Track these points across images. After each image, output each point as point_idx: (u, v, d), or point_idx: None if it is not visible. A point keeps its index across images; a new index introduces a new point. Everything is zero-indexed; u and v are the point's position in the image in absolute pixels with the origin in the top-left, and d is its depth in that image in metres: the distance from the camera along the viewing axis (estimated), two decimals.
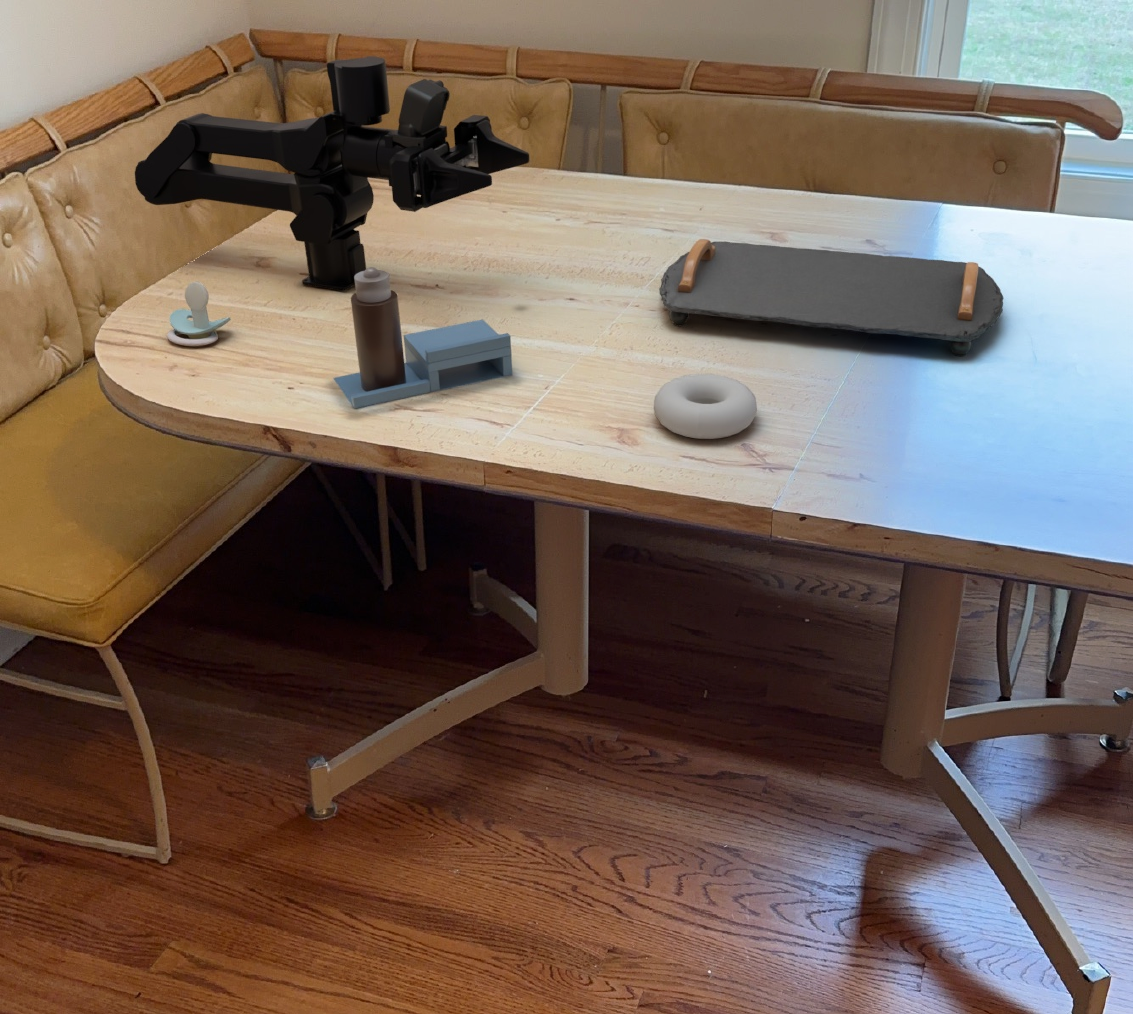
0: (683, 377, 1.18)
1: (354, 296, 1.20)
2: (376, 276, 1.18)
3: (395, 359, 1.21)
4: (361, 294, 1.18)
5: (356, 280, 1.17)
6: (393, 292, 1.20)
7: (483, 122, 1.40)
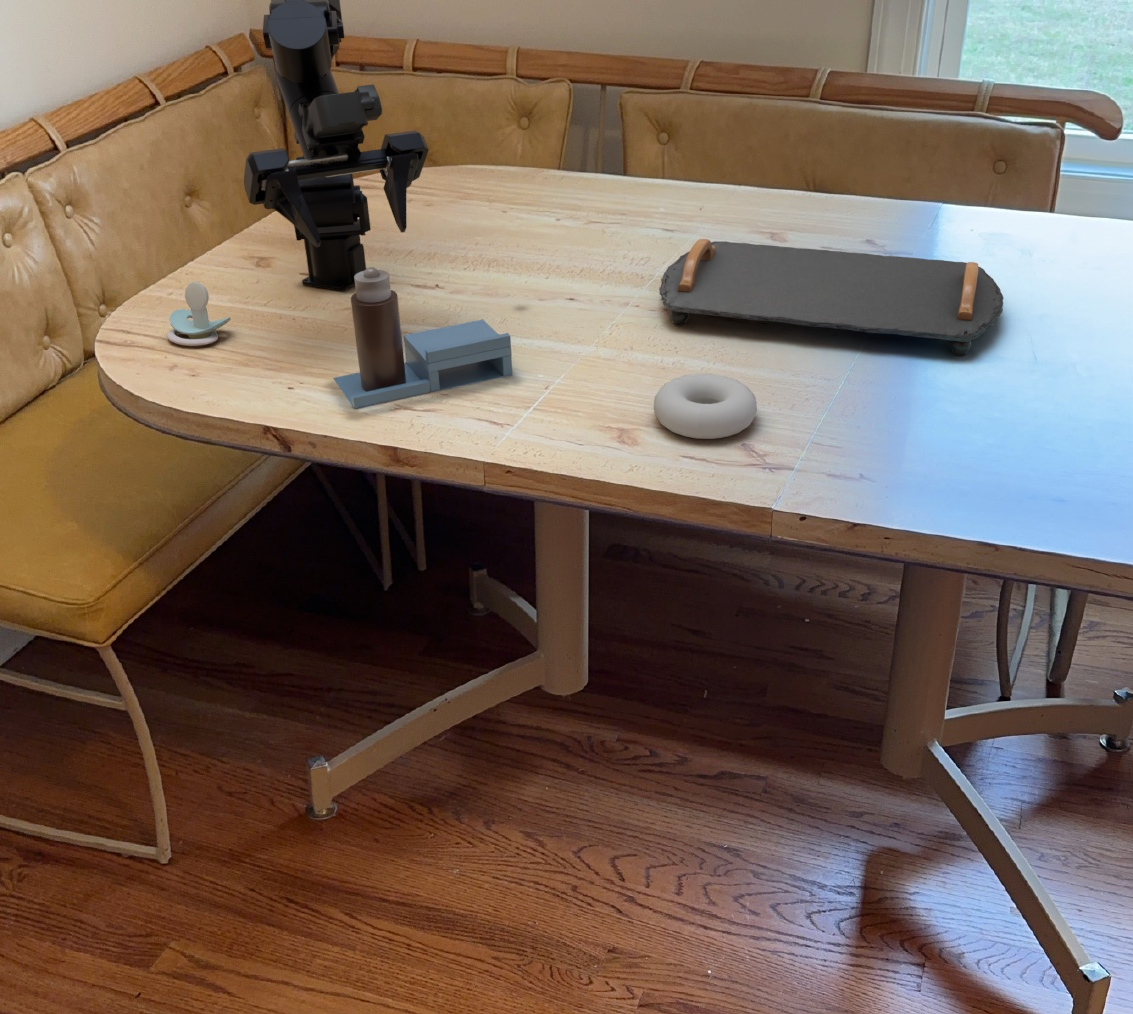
0: (683, 377, 1.18)
1: (354, 296, 1.20)
2: (376, 276, 1.18)
3: (395, 359, 1.21)
4: (361, 294, 1.18)
5: (356, 280, 1.17)
6: (393, 292, 1.20)
7: (406, 156, 1.25)
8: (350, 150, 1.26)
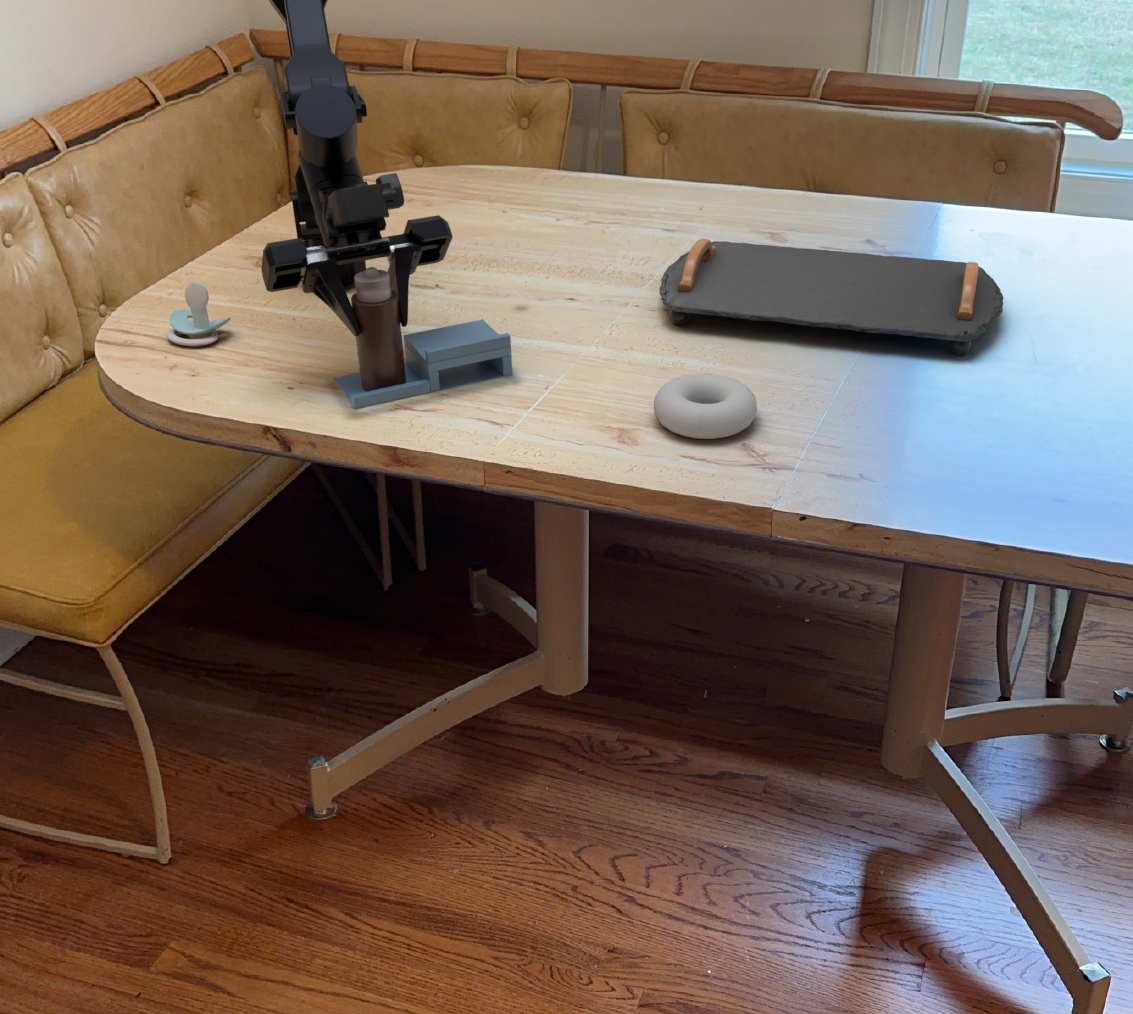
0: (683, 377, 1.18)
1: (354, 296, 1.20)
2: (376, 276, 1.18)
3: (395, 359, 1.21)
4: (361, 294, 1.18)
5: (356, 280, 1.17)
6: (393, 292, 1.20)
7: (409, 247, 1.20)
8: (372, 235, 1.22)
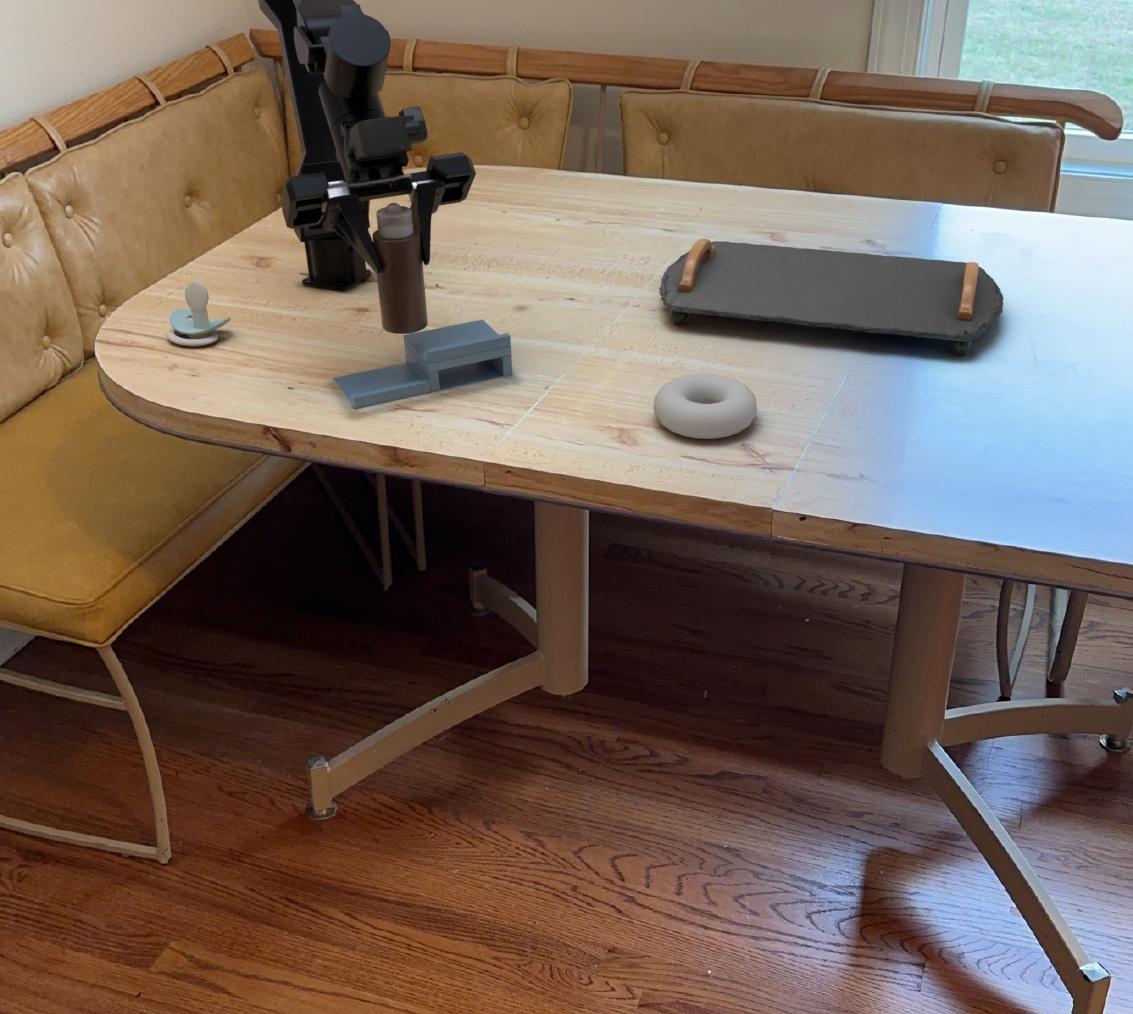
0: (683, 377, 1.18)
1: (376, 233, 1.17)
2: (398, 212, 1.16)
3: (417, 298, 1.19)
4: (383, 230, 1.16)
5: (378, 215, 1.15)
6: (415, 229, 1.18)
7: (432, 184, 1.18)
8: (393, 172, 1.20)
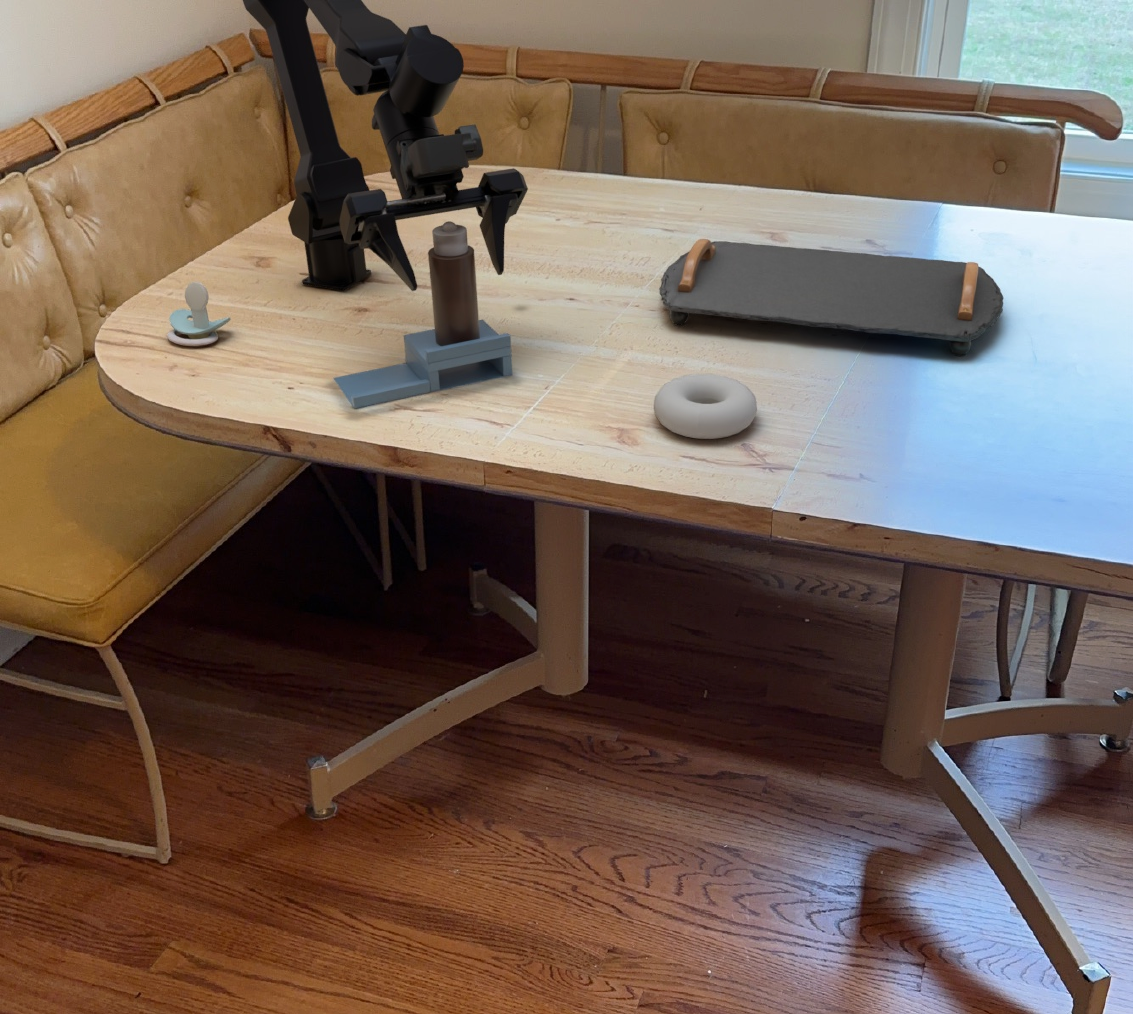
0: (683, 377, 1.18)
1: (431, 250, 1.21)
2: (454, 230, 1.19)
3: (470, 313, 1.23)
4: (439, 248, 1.19)
5: (435, 234, 1.19)
6: (469, 247, 1.22)
7: (506, 196, 1.22)
8: (448, 188, 1.23)
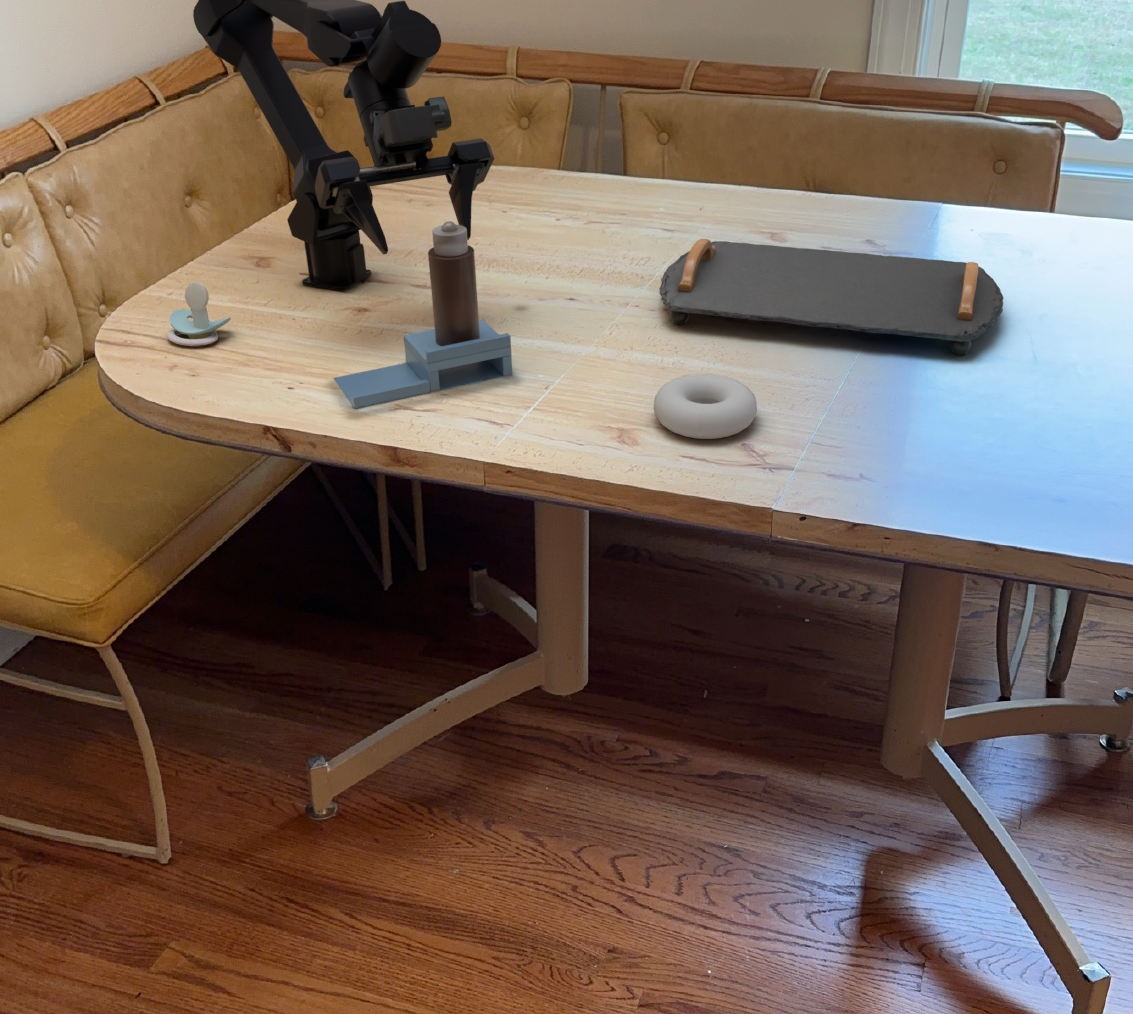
0: (683, 377, 1.18)
1: (431, 250, 1.21)
2: (454, 230, 1.19)
3: (470, 313, 1.23)
4: (439, 248, 1.19)
5: (435, 234, 1.19)
6: (469, 247, 1.22)
7: (473, 165, 1.28)
8: (418, 156, 1.30)
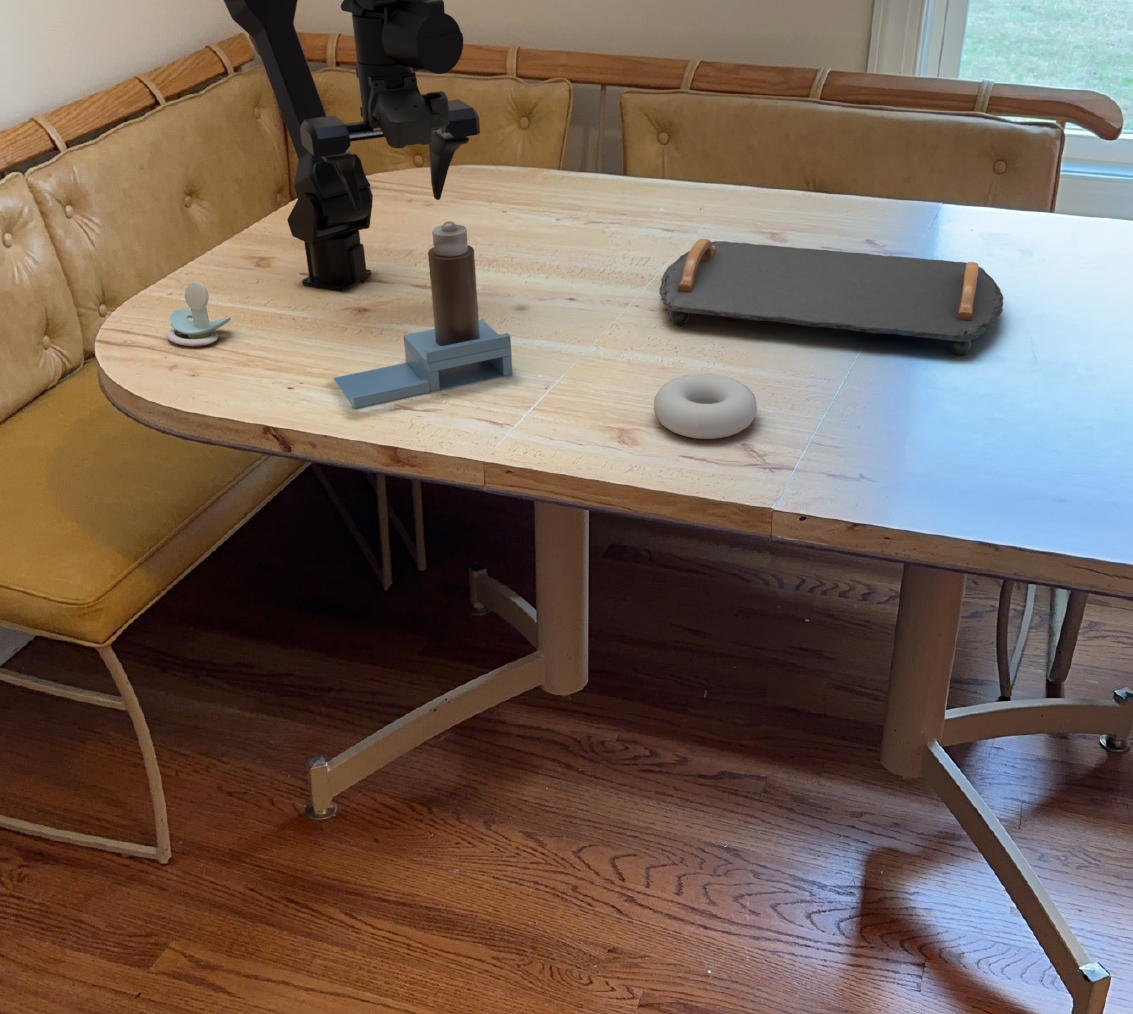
0: (683, 377, 1.18)
1: (431, 250, 1.21)
2: (454, 230, 1.19)
3: (470, 313, 1.23)
4: (439, 248, 1.19)
5: (435, 234, 1.19)
6: (469, 247, 1.22)
7: (458, 142, 1.32)
8: None
